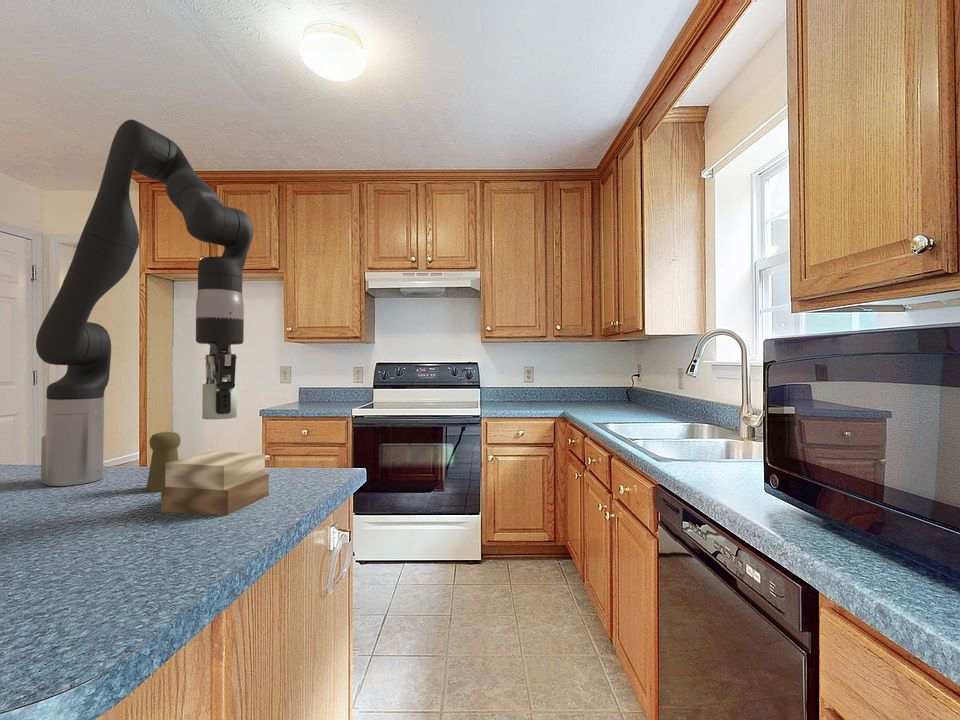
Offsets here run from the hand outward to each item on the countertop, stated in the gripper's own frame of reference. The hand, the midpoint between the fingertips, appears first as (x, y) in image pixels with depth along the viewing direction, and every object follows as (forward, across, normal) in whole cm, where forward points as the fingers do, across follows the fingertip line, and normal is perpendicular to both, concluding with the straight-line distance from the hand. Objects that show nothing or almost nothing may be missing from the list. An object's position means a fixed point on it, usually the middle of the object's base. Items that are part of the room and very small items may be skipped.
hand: (219, 412), depth 86 cm
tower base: (+17, 0, 0) cm, 17 cm away
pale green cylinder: (+1, 0, 0) cm, 1 cm away
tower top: (+12, 0, 0) cm, 12 cm away
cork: (+16, +18, +6) cm, 25 cm away
